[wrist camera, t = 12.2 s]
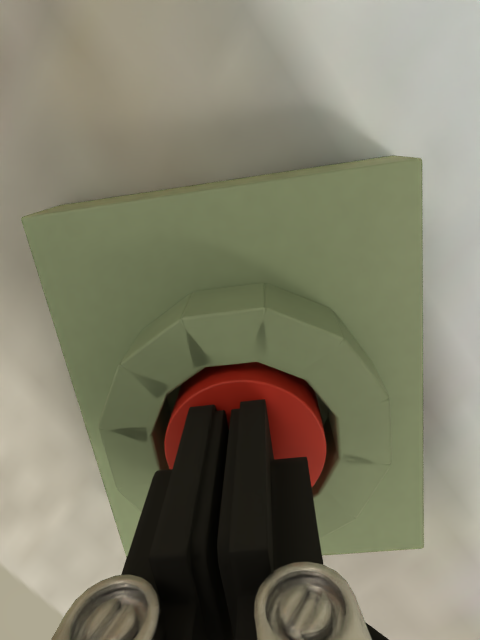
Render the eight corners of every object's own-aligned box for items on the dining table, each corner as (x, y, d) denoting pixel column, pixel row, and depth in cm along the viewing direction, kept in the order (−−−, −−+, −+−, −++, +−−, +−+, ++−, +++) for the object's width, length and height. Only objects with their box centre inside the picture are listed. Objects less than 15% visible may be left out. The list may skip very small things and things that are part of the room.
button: (165, 354, 11) (148, 389, 10) (311, 337, 11) (319, 371, 9) (191, 472, 13) (180, 521, 11) (323, 460, 12) (332, 509, 11)
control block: (59, 205, 12) (-28, 231, 9) (394, 155, 12) (457, 160, 8) (146, 516, 16) (112, 626, 13) (403, 495, 16) (447, 607, 12)
